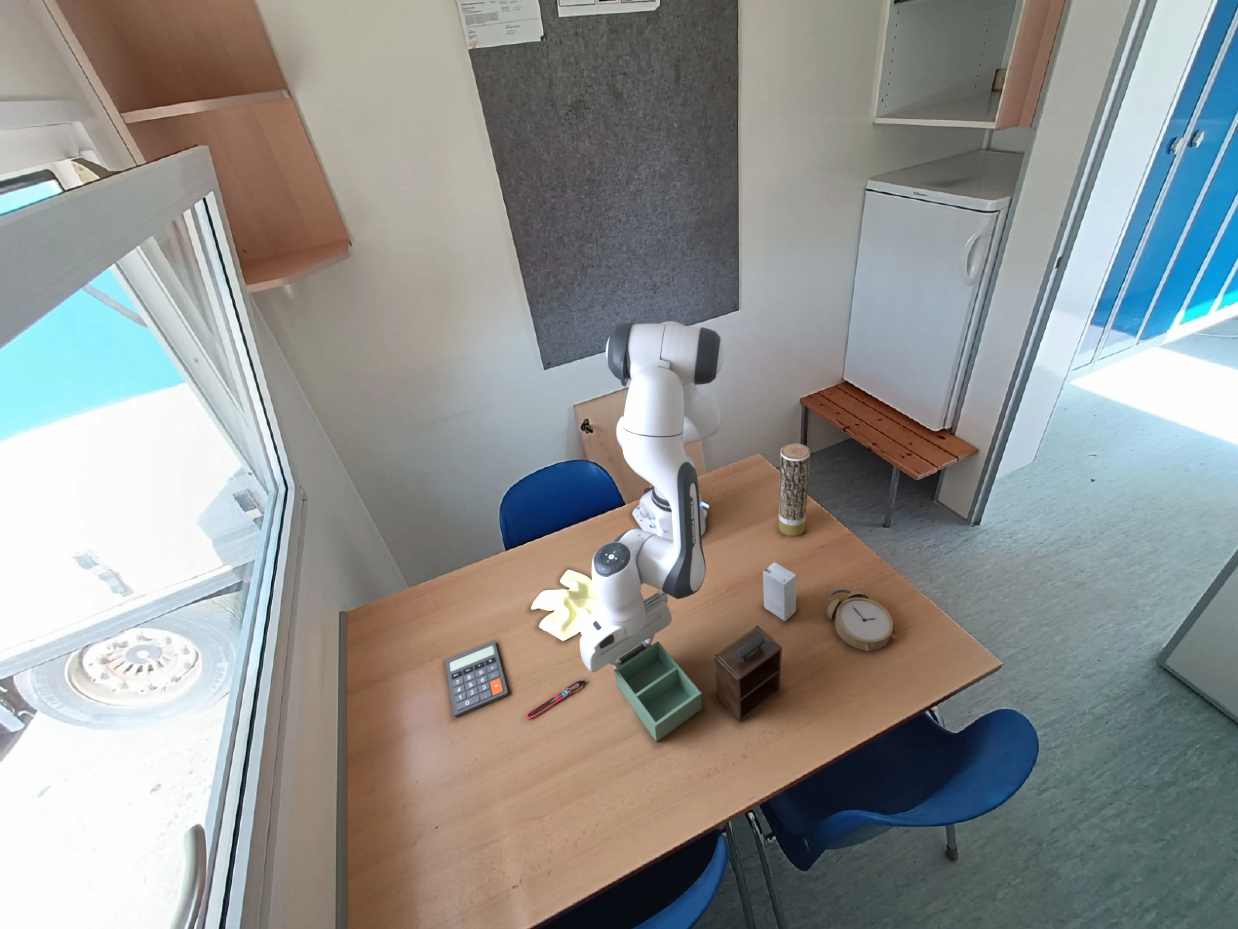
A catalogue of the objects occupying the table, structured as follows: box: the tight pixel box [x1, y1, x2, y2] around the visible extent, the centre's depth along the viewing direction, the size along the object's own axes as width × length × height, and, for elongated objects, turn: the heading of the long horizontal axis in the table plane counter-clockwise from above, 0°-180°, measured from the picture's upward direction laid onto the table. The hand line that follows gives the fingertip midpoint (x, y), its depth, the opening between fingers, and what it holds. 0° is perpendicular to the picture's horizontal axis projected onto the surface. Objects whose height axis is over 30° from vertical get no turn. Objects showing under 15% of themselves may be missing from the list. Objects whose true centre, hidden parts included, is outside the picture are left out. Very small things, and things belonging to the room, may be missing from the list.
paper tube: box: [777, 442, 811, 537], centre depth 142 cm, size 7×7×25 cm
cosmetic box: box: [762, 561, 797, 622], centre depth 125 cm, size 6×4×12 cm
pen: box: [525, 679, 586, 719], centre depth 118 cm, size 2×14×1 cm, turn 122°
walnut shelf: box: [713, 625, 783, 723], centre depth 108 cm, size 17×11×6 cm
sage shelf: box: [613, 641, 702, 743], centre depth 113 cm, size 17×11×6 cm, turn 33°
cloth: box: [530, 569, 599, 642], centre depth 137 cm, size 22×19×6 cm
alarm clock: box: [825, 588, 897, 652], centre depth 122 cm, size 11×5×15 cm
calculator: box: [445, 640, 509, 718], centre depth 125 cm, size 12×1×15 cm
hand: (632, 656), depth 118 cm, fingers closed on sage shelf, 6 cm apart
